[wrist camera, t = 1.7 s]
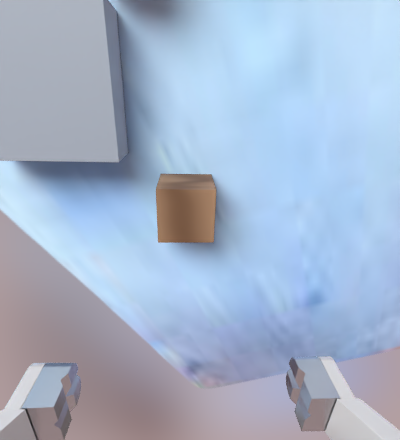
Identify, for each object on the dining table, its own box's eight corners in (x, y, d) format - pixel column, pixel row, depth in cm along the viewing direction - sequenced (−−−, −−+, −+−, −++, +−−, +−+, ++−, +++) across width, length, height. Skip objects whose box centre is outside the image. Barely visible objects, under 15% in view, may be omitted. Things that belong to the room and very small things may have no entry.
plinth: (116, 10, 21) (102, -8, 18) (128, 153, 26) (118, 162, 22) (-31, 4, 21) (-77, -16, 17) (8, 150, 25) (-22, 160, 22)
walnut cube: (211, 174, 27) (216, 189, 23) (209, 219, 29) (213, 242, 25) (160, 173, 27) (155, 189, 22) (162, 219, 29) (158, 242, 24)
